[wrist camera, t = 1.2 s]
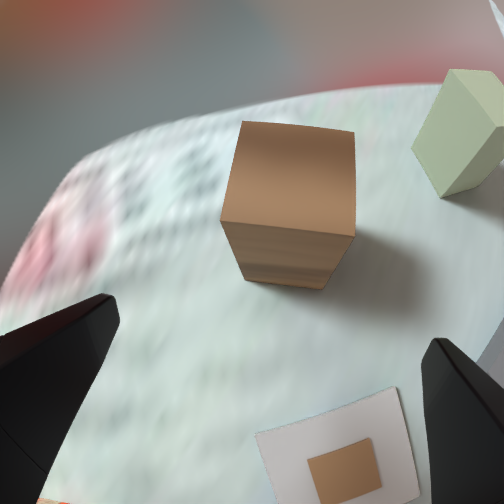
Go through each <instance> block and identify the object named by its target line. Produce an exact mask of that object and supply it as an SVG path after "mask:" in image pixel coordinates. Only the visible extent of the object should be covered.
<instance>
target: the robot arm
mask: <svg viewBox="0 0 504 504" xmlns="http://www.w3.org/2000/svg"><path fill="white" fill-rule="evenodd" d="M119 324H120V317H119V312H118V308H117V304H116V299H115V297H114V296H112V295H109V294H104V293H101V294H98V295H96V296H93V297H91V298H88V299H86V300H84V301H81V302H79V303H76V304H74V305H72V306H69V307H67V308H65V309H62V310H60V311H58V312H55V313H53V314H50V315H48V316H46V317H43V318H41V319H39V320H36V321H34V322H32V323H29V324H27V325H25V326H23V327H20V328H18V329H16V330H13V331H11V332H9V333H6V334H5V335H2V336H0V504H36V503H37V501H38V498H39V496H40V493H41V491H42V489H43V486H44V484H45V481H46V479H47V477H48V474H49V472H50V470H51V467H52V465H53V463H54V461H55V458H56V456H57V454H58V452H59V450H60V447H61V445H62V443H63V441H64V439H65V437H66V435H67V433H68V431H69V429H70V427H71V424H72V422H73V420H74V418H75V416H76V414H77V412H78V410H79V408H80V406H81V404H82V403H83V401H84V399H85V397H86V395H87V393H88V391H89V389H90V387H91V385H92V383H93V382H94V380H95V378H96V376H97V374H98V372H99V370H100V368H101V366H102V364H103V362H104V360H105V357H106V355H107V352H108V350H109V348H110V345H111V343H112V341H113V338H114V336H115V334H116V331H117V329H118V327H119ZM421 372H422V386H423V405H424V417H425V425H426V433H427V441H428V451H429V462H430V476H431V496H432V504H504V389H503V388H502V387H501V386H500V385H499V384H498V383H497V382H496V381H495V380H494V379H493V378H492V377H490V376H489V375H488V374H487V373H486V372H485V371H484V370H483V369H482V368H480V367H479V366H478V365H477V364H476V363H475V362H474V361H473V360H471V359H470V358H469V357H468V356H467V355H466V354H465V353H463V352H462V351H461V350H460V349H459V348H458V347H457V346H455V345H454V344H453V343H452V342H451V341H450V340H448V339H447V338H434V339H433V340H432V341H431V343H430V345H429V347H428V349H427V351H426V353H425V355H424V357H423V359H422V363H421Z"/></svg>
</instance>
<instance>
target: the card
mask: <svg viewBox="0 0 504 504" xmlns="http://www.w3.org/2000/svg"><path fill="white" fill-rule="evenodd" d="M255 438H256V442H257V445H258V448H259V451H260V454H261V457H262V459H263V462H264V465H265V468H266V471H267V474H268V477H269V480H270V483H271V485H272V488H273V491H274V494H275V497H276V499H277V502H278V504H405V503H407V502H409V501H411V500H413V499H415V498H417V497H419V496H420V491H419V486H418V480H417V475H416V470H415V465H414V460H413V456H412V451H411V447H410V442H409V438H408V434H407V429H406V425H405V421H404V417H403V413H402V410H401V406H400V402H399V398H398V395H397V391H396V387H394V386H391V387H389V388H387V389H385V390H382V391H380V392H378V393H375V394H373V395H371V396H368V397H366V398H363V399H361V400H358V401H356V402H353V403H351V404H348V405H346V406H343V407H340V408H337V409H335V410H332V411H329V412H326V413H323V414H320V415H317V416H314V417H311V418H308V419H305V420H302V421H299V422H295V423H292V424H289V425H285V426H282V427H278V428H274V429H271V430H267V431H263V432H259V433H255Z"/></svg>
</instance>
